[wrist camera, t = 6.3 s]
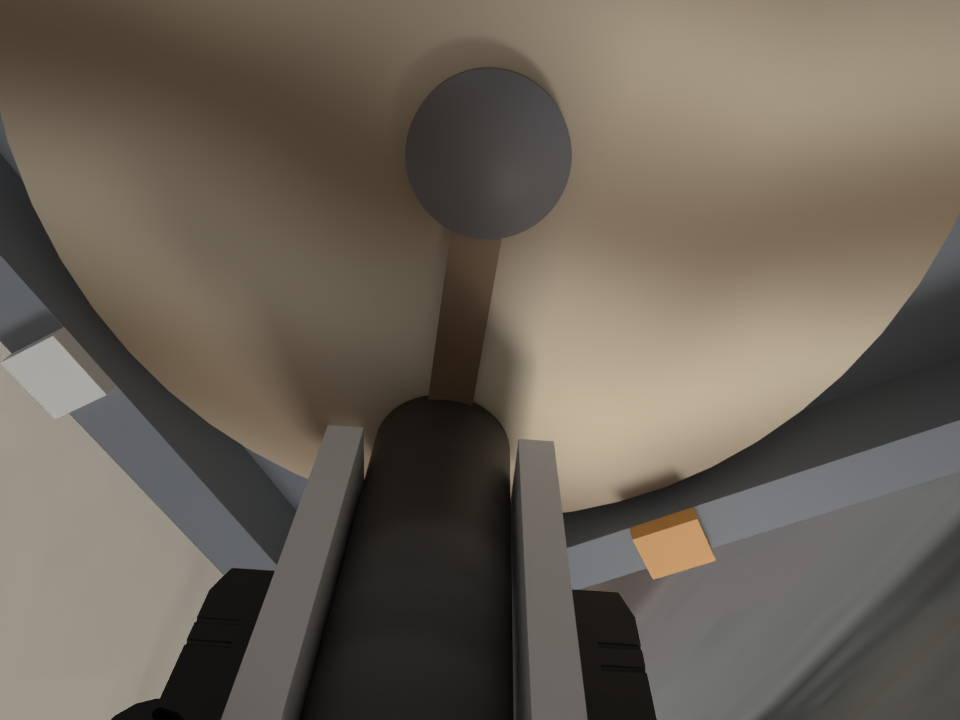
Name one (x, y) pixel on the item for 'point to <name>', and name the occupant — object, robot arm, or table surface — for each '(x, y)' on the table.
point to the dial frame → (589, 532)
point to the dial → (484, 252)
